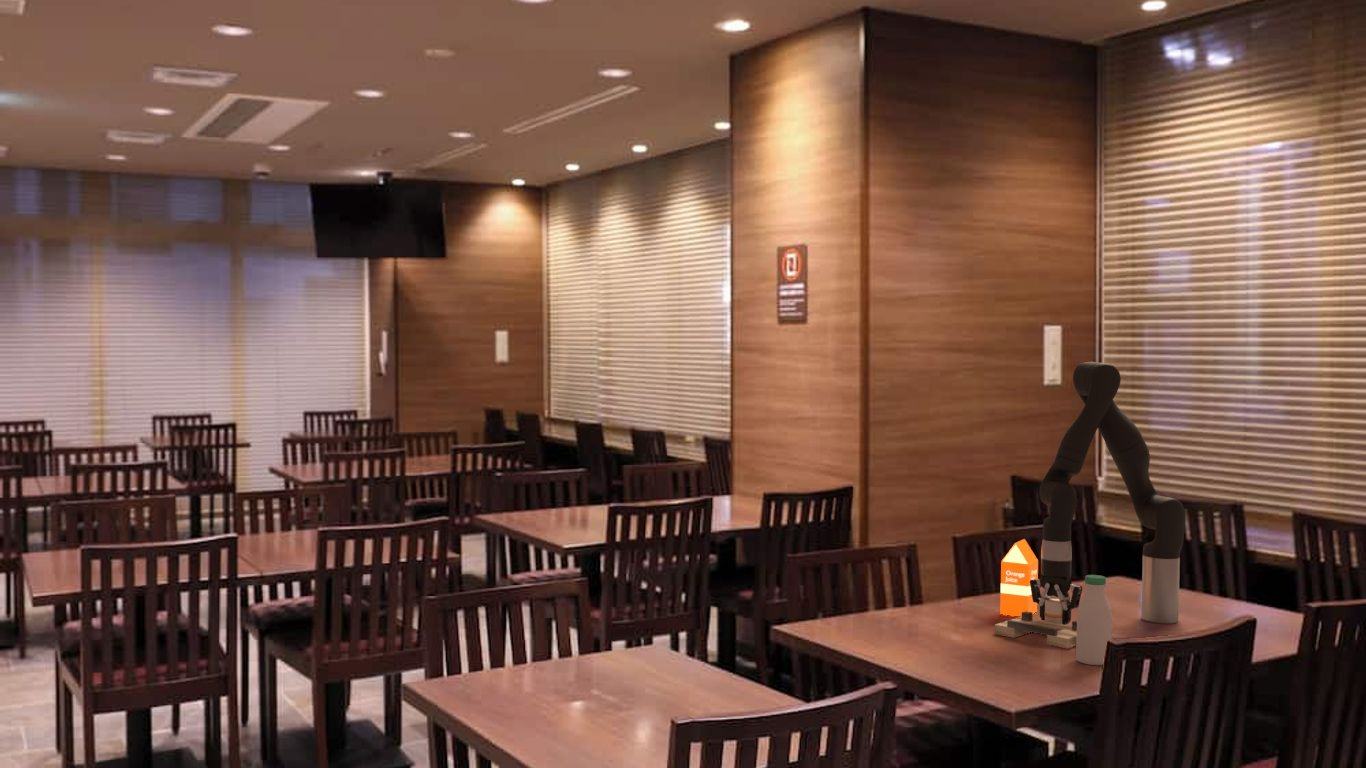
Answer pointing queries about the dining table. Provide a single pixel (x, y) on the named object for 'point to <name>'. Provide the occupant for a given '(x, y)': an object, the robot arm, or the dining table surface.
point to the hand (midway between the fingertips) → (1054, 621)
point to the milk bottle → (1093, 622)
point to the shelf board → (1039, 630)
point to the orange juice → (1018, 580)
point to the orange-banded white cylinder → (1053, 611)
